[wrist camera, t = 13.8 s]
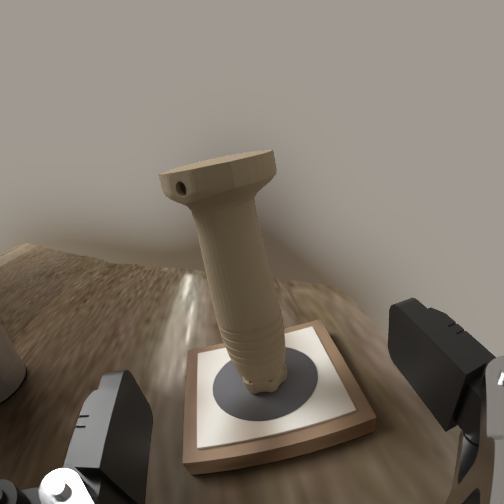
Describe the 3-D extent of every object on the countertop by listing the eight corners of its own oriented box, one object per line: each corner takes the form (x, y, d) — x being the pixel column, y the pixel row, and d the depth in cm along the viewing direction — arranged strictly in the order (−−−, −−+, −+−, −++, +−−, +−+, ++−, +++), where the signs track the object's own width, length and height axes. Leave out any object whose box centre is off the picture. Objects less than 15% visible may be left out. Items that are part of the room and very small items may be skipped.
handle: (250, 349, 25) (204, 159, 19) (321, 371, 21) (290, 146, 15) (210, 386, 21) (142, 178, 16) (283, 419, 17) (226, 163, 12)
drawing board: (191, 474, 16) (180, 461, 15) (193, 363, 27) (186, 347, 26) (374, 431, 16) (377, 414, 16) (321, 333, 28) (319, 316, 27)
